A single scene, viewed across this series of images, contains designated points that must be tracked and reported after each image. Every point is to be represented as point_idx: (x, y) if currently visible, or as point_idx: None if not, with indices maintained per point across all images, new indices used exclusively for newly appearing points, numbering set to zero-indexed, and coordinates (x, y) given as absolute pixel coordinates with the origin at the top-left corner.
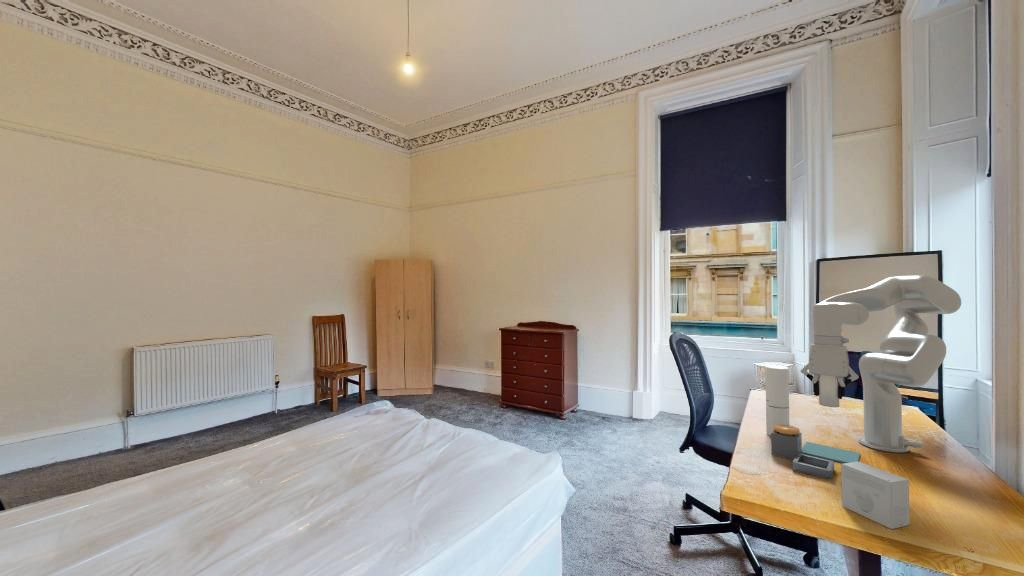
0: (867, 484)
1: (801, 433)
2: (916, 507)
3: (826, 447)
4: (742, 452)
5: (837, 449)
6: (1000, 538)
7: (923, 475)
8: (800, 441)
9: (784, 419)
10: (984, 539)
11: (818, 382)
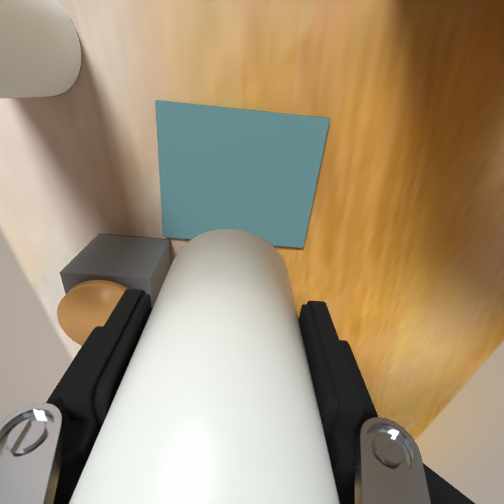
0: None
1: (150, 277)
2: (363, 376)
3: (226, 133)
4: (51, 316)
5: (260, 131)
6: (435, 402)
7: (455, 205)
8: (159, 282)
9: (13, 81)
10: (412, 413)
11: (91, 424)
